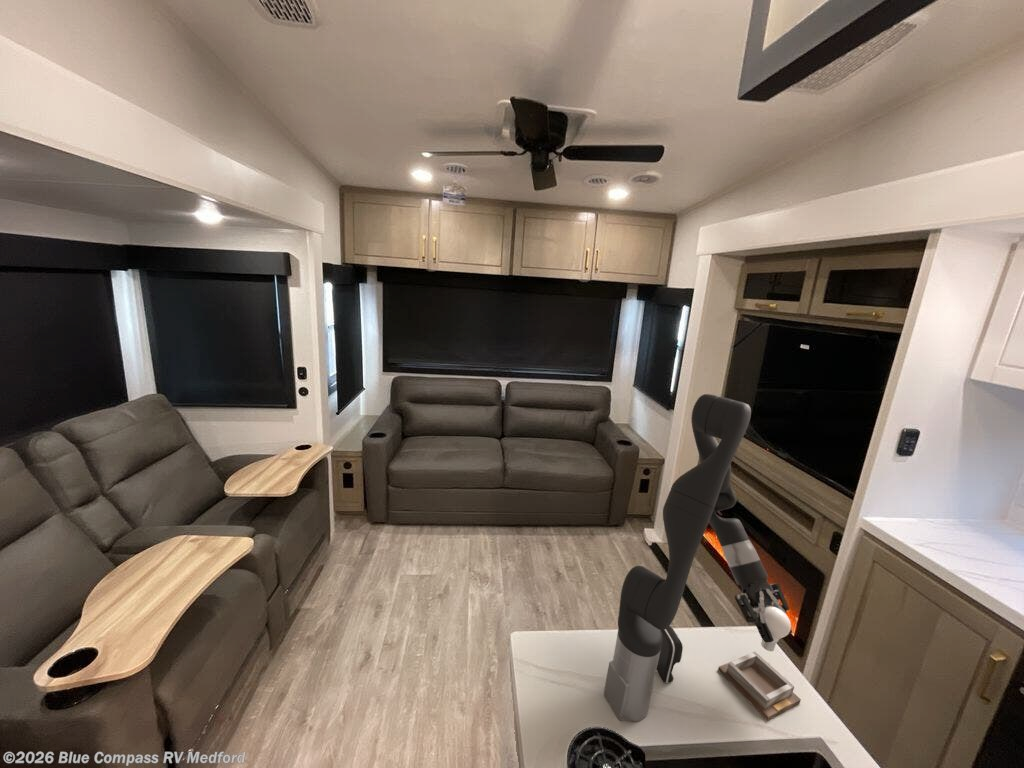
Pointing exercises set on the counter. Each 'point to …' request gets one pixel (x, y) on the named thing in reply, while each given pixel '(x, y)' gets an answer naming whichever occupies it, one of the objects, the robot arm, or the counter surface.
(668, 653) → the battery charger
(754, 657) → the socket board
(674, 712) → the counter surface
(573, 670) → the counter surface
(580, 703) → the counter surface
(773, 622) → the lightbulb
